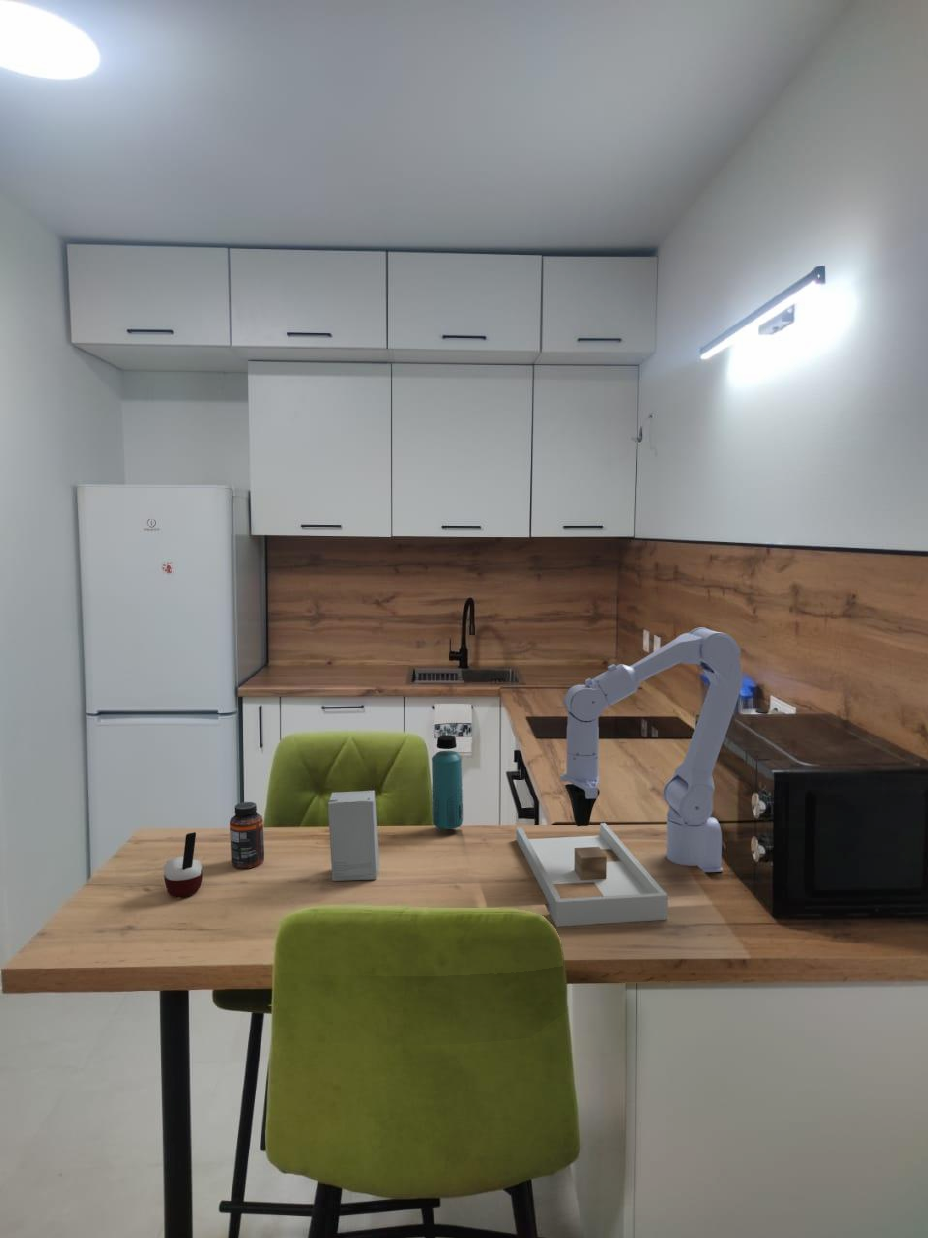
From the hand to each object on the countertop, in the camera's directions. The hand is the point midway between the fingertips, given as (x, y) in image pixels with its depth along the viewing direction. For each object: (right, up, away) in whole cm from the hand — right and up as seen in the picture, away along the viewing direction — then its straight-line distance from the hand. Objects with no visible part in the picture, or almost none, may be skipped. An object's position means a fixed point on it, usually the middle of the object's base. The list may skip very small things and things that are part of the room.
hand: (581, 824), depth 145 cm
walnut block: (+1, -7, -5) cm, 9 cm away
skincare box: (-41, -9, -1) cm, 42 cm away
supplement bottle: (-62, -9, +4) cm, 63 cm away
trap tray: (0, -9, -4) cm, 10 cm away
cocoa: (-70, -10, -9) cm, 71 cm away
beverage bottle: (-25, -7, +21) cm, 33 cm away
